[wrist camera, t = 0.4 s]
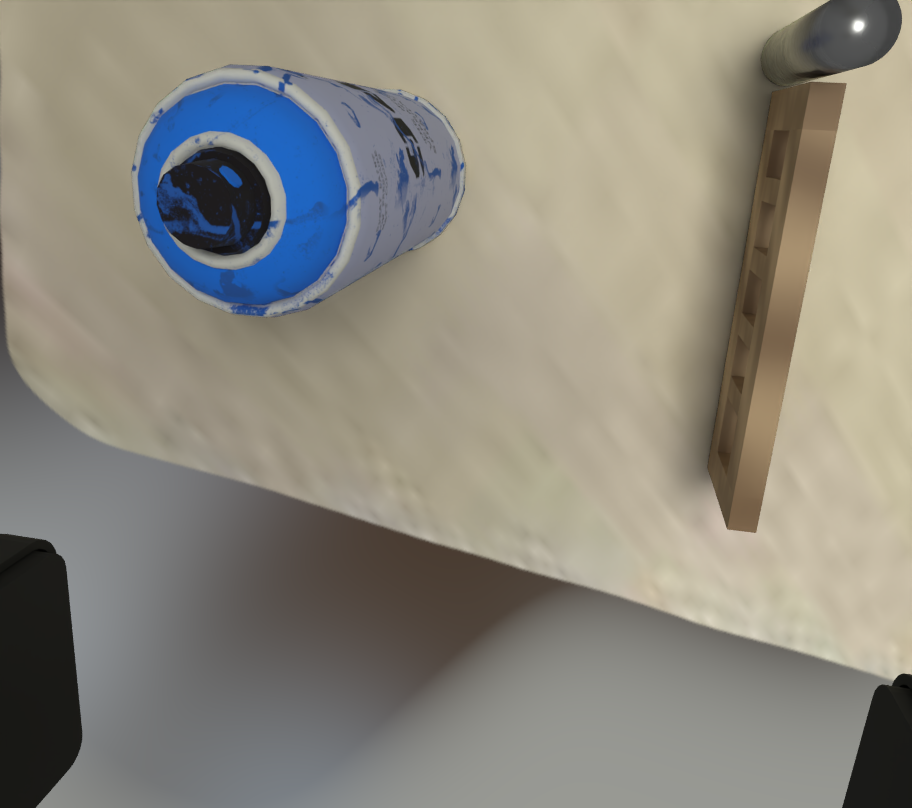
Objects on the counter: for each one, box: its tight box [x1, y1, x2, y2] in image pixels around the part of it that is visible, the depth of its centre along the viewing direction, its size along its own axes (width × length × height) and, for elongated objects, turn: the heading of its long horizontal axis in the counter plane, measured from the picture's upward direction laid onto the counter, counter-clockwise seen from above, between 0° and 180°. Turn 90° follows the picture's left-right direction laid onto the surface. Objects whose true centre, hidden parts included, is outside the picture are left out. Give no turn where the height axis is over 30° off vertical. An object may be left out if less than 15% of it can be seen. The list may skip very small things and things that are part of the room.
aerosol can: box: [131, 65, 466, 318], centre depth 30 cm, size 8×8×20 cm
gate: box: [707, 82, 847, 533], centre depth 34 cm, size 18×1×7 cm, turn 177°
